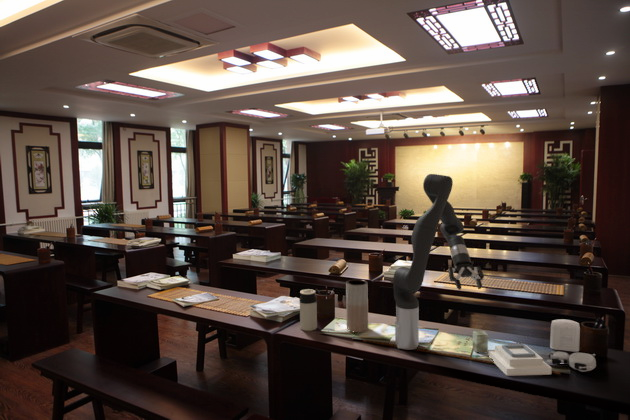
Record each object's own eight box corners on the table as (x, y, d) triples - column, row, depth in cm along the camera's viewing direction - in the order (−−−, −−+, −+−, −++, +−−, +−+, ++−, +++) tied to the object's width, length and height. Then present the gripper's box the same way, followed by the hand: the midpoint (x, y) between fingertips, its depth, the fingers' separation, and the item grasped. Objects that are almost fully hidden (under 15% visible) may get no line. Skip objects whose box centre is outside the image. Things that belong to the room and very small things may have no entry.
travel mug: (320, 326, 199) (319, 290, 198) (311, 332, 192) (310, 294, 191) (306, 324, 203) (305, 288, 202) (297, 329, 197) (296, 292, 195)
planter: (353, 323, 202) (352, 278, 200) (371, 327, 196) (371, 280, 194) (342, 330, 194) (341, 282, 192) (361, 334, 188) (360, 285, 186)
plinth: (506, 375, 148) (507, 359, 147) (487, 356, 164) (487, 341, 163) (551, 374, 148) (551, 358, 147) (527, 354, 164) (528, 340, 163)
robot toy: (546, 369, 154) (594, 378, 144) (545, 357, 153) (594, 365, 144) (551, 357, 163) (597, 364, 154) (551, 346, 163) (597, 352, 154)
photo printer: (577, 348, 168) (578, 319, 167) (580, 353, 164) (581, 322, 163) (548, 346, 171) (549, 317, 170) (551, 350, 167) (552, 320, 166)
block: (476, 353, 166) (476, 335, 166) (472, 348, 170) (472, 331, 170) (487, 352, 167) (487, 334, 166) (483, 348, 171) (483, 330, 170)
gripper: (446, 252, 185) (455, 284, 175) (478, 251, 185) (489, 283, 175) (443, 261, 191) (451, 293, 180) (473, 260, 191) (484, 292, 180)
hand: (470, 288), depth 178 cm, fingers open, 8 cm apart
